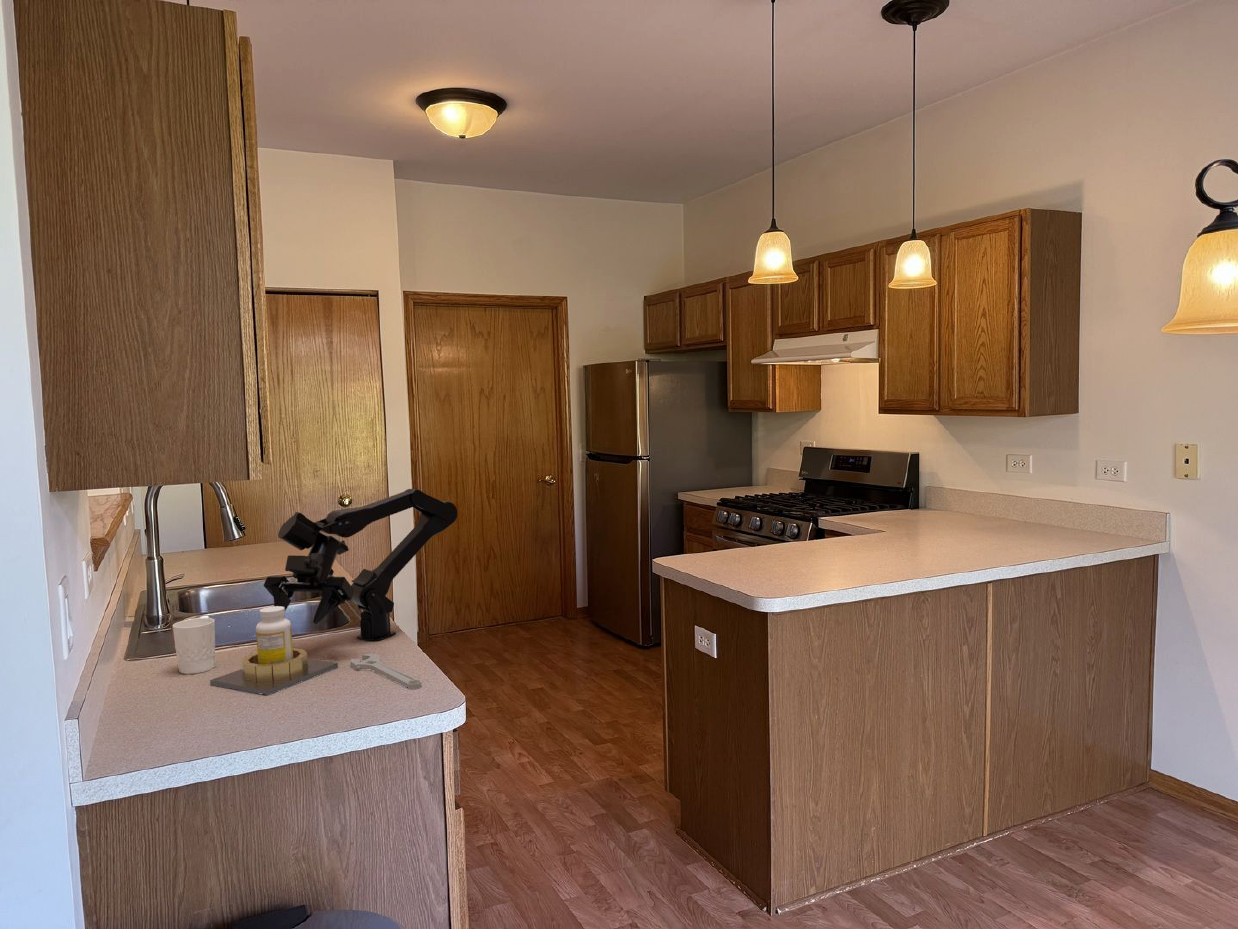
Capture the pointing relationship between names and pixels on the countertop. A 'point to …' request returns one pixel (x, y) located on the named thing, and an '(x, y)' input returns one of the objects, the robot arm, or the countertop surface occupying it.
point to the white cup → (195, 645)
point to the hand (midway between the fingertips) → (295, 622)
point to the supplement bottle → (274, 636)
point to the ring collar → (273, 673)
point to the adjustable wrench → (385, 670)
